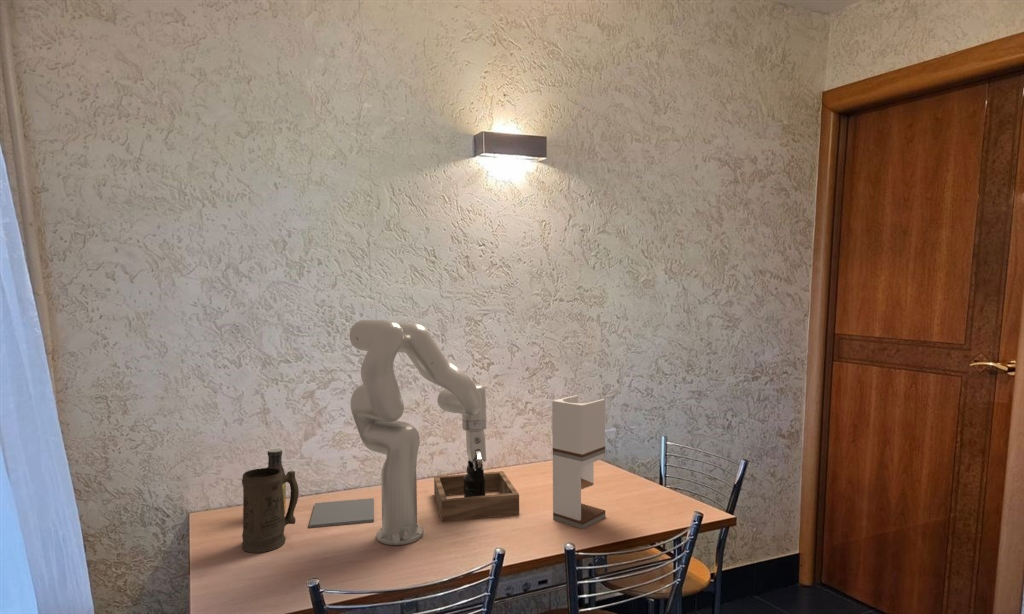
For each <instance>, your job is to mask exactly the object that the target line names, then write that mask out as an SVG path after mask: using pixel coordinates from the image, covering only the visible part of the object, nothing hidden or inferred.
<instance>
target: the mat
mask: <svg viewBox="0 0 1024 614" xmlns="http://www.w3.org/2000/svg"><path fill="white" fill-rule="evenodd" d="M374 519H375V498H374V497H372V498H370V497H369V498H360V499H347V500H337V501H336V500H335V501H326V502H315V503H314V507H313V511H312V514H311V517H310V521H309V526H308V527H309V529H310V528H311V527H314V528H321V527H320V526H325V527H333V526H332V525H335V526H341V525H340V524H346V525H353V524H352V523H357V524H366V523H365V522H367V523H374V522H375V521H374ZM350 523H351V524H350ZM311 529H312V528H311Z"/></svg>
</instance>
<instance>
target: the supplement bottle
mask: <svg viewBox="0 0 1024 614" xmlns="http://www.w3.org/2000/svg"><path fill="white" fill-rule="evenodd" d="M473 470H474V466H473V464H472V465H468V464H467V466H466V473H465V474H466V475H465V476H464V494H463V497H474V496H485V495H486V494H487V493H486V481H485V476H484V482H483V483H474V482H473Z"/></svg>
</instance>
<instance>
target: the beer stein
mask: <svg viewBox="0 0 1024 614" xmlns="http://www.w3.org/2000/svg"><path fill="white" fill-rule="evenodd" d="M285 482H286V483H288V484H289V486H290V487H289V488H290V496H289V497H290V498H289V503H288V509H287V511H286V513H285V514H284V495H283V491H282V485H283V484H284V483H285ZM241 484H242V488H243V489H242V490H243V492H242V493H243V494H242V495H243V498H242V501H243V504H242V505H243V507H242V525H243V526H242V536H241V537H242V543H241V548H242V550H243V551H245V552H247V553H251V554H252V553H253V554H256V553H257V554H261V553H267V551H268V552H270V551H274V550H277V549H279V548H280V547H282V546H283V545H284V544H285V543H286V537H285V527H286V526H288V525H295V524H296V522H297V521H296V517H295V515H294V512H295V509H296V506H297V504H298V501H299V494H300V493H299V486H298V485H299V484H298V482H297V479H296V472H295V470H292V471H291V470H289V471H287V473H285V475H284V476H282V472H281V470H280V469H277V468H267V467H261V468H255V469H251V470H247V471H245V472H244V473H243V474H242V478H241ZM276 548H277V549H276Z"/></svg>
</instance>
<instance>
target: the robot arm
mask: <svg viewBox="0 0 1024 614" xmlns="http://www.w3.org/2000/svg"><path fill="white" fill-rule="evenodd" d="M348 335H349V341H350V343H351V344H352V346H353V348H356V349H357V350H360V351H364V352H365V351H366V354H365V356H364V358H363V359H362V364H361V367H360V377H361V382H362V384H361V385H359V386H358V387H356V388H355V389H354V391H353V392H352V395H351V397H350V410H351V414H352V417H353V420H354V424H355V426H356V428H357V432H358V435H359V436H360V440H361V441H362V443H363V445H364V446H365V448H367V449H368V450H370V451H372V452H375V453H378V454H381V455H382V454H383V455H385V456H386V457H385V460H384V463H383V464H382V465H383V466H382V468H381V474H380V475H381V478H380V479H381V481H380V482H381V485H380V487H381V488H380V489H381V491H380V492H381V528H380V529H378V530H377V532H376V537H375V538H376V540H377V541H378V542H379V543H381V544H383V545H388V546H389V545H391V546H401V545H408V544H411V543H414V542H416V541H418V540H420V539H421V538H422V537H423V535H424V529H423V527H421V526H420V525H419V524H418V495H417V494H418V491H417V490H418V489H417V487H418V485H417V482H418V480H417V461H418V453H419V449H420V441H421V438H420V434H419V431H418V430H417V428H416V427H415V426H413V425H412V424H411V423H409V422H405V421H400V420H399V419H400V418H401V417H402V416H403V414H404V410H405V406H404V405H405V404H404V400H403V397H402V393H401V390H400V387H399V384H398V382H397V378H396V375H395V371H394V362H395V359H396V357H397V354H398V353H404V354H406V355H407V357H408V358H409V360H410V361H411V362H412V364H413V365H414V367H415V368H416V369H417V371H418V372H419V373H420V375H421V377H422V378H424V379H425V380H426V381H429V382H430V383H433V384H434V385H437V386H438V387H441V388H443V389H442V390H441V391H440V392H439V394H438V395H437V398H436V399H437V405H438V407H439V408H440V409H441V410H443V412H444V411H445V412H448V413H451V414H458V415H461V416H462V417H461V419H462V420H461V421H462V422H461V423H462V424H461V425H462V430H463V431H465V440H466V441H465V445H466V454H467V457H468V458H467V459H468V460H467V466H468V465H472V464H473V466H474V470H473V482H474V483H483V482H484V473H485V472H484V471H485V470H484V466H483V465H484V464H483V463H484V462H487V450H486V449H487V448H486V436H485V430H486V429H487V405H486V404H487V401H486V400H487V399H486V398H487V396H486V387H485V386H484V385H483V384H481V383H475V382H474V381H473V380H472V379H471V377H470V376H469V375H468V374H466V373H465V372H464V371H462V369H460V368H459V367H458V366H456V365H455V364H453V363H452V362H451V361H449V360H448V359H447V358H446V356H445V355H444V354H443V352H442V350H441V348H440V347H439V346H438V344H437V342H436V341H435V340H434V337H432V335H431V333H429V331H428V329H427V328H426V327H424V326H423V325H422V324H419V323H414V322H413V323H411V322H395V321H391V320H384V319H383V320H382V319H381V320H380V319H379V320H378V319H361V320H357V322H355V323H354V324H353V325H352V326H351V328H350V330H349V334H348Z"/></svg>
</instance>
